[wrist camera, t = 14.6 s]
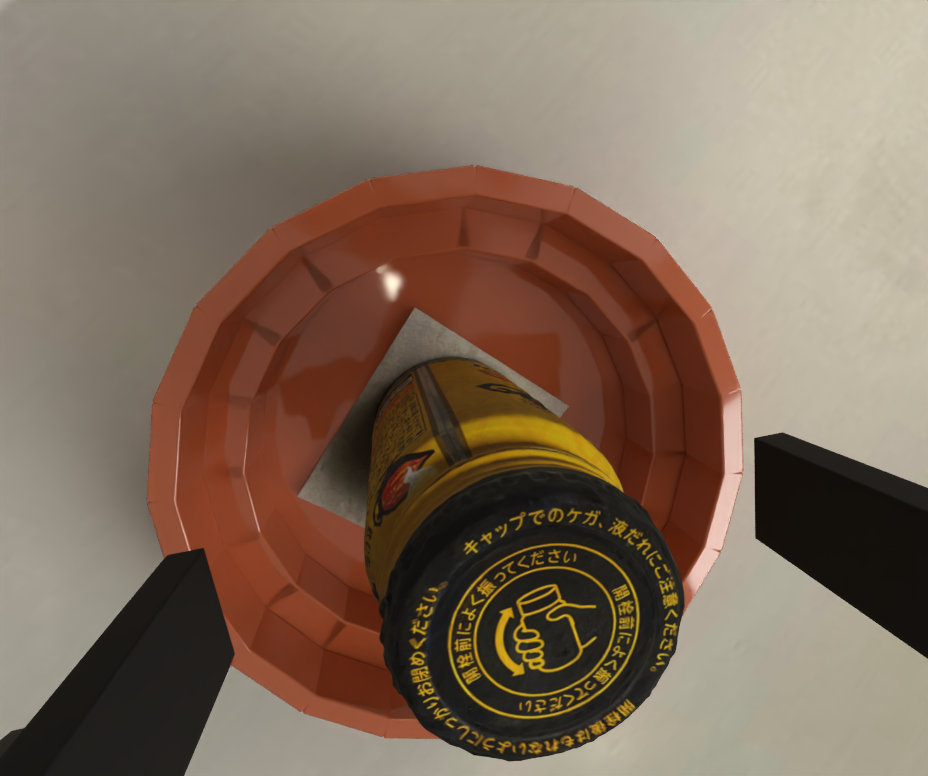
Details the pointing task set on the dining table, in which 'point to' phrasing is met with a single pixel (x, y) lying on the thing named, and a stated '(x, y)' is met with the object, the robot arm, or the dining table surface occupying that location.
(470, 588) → the condiment
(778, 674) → the dining table surface
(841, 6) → the dining table surface
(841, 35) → the dining table surface
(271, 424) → the bowl
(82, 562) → the dining table surface
